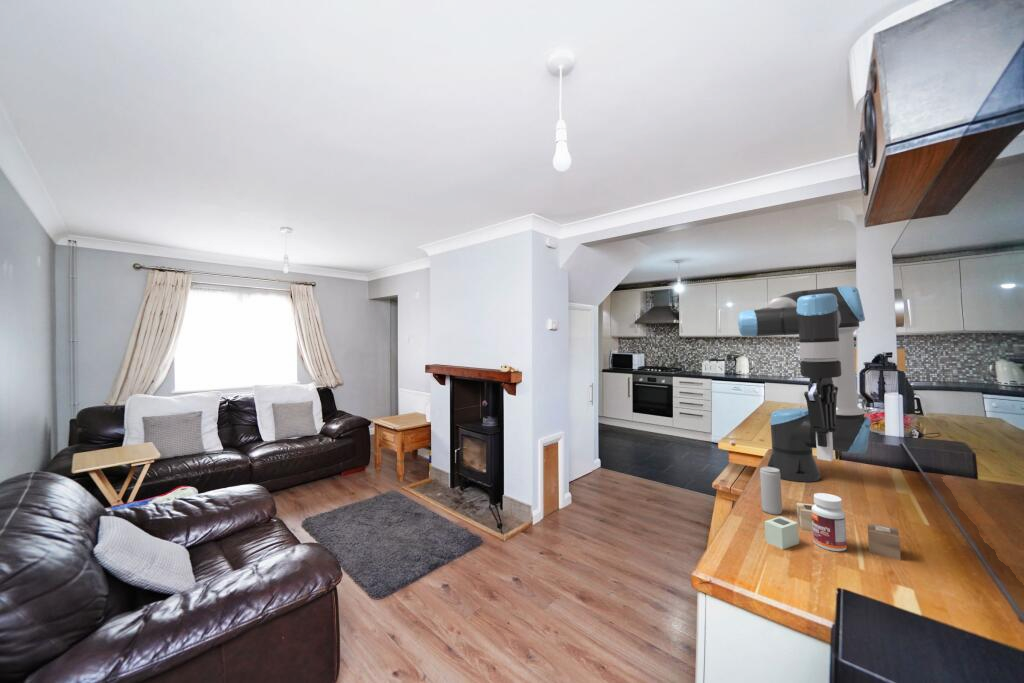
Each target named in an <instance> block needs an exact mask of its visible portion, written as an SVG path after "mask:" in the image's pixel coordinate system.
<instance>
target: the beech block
mask: <svg viewBox="0 0 1024 683" xmlns="http://www.w3.org/2000/svg"><path fill="white" fill-rule="evenodd" d="M813 505H814V504H811V503H810V504H809V503H801V502H796V516H797V517H796V518H797V520H796V521H797V523H798V526H799V528H800V530H802V531H808V532H809V531H810V532H813V531H812V506H813Z"/></svg>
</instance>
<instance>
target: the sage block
mask: <svg viewBox="0 0 1024 683" xmlns="http://www.w3.org/2000/svg"><path fill="white" fill-rule="evenodd" d="M764 533H765V534H764V536H765V543H768V544H770V545H772V546H774V547H777V548H778V549H780V550H786V549H788V548H790V547H793V546H796V545H799V544H800V533H799V523H798V521H794V520H792V519H789V518H787V517H784V516H782V515H779V516H777V517H774V518H771V519H768V520H764Z"/></svg>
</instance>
